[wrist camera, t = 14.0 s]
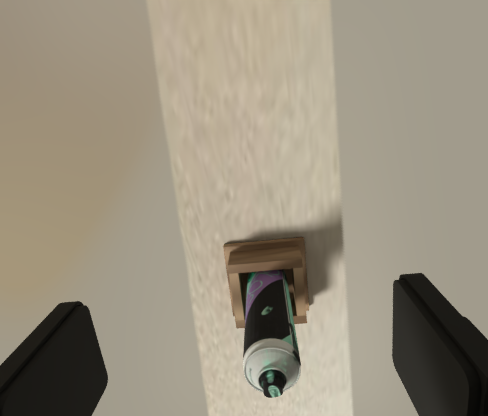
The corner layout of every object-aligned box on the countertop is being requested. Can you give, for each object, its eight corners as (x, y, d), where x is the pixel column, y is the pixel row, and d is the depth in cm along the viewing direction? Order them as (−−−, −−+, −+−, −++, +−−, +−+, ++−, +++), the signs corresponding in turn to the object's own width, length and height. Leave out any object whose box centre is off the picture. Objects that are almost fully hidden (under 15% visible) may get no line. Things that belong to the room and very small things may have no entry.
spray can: (265, 253, 48) (271, 355, 29) (294, 277, 49) (318, 391, 30) (239, 279, 50) (228, 392, 31) (268, 302, 51) (274, 426, 32)
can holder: (224, 244, 49) (220, 260, 45) (303, 237, 49) (308, 252, 44) (233, 312, 53) (231, 333, 48) (308, 306, 52) (313, 327, 47)
